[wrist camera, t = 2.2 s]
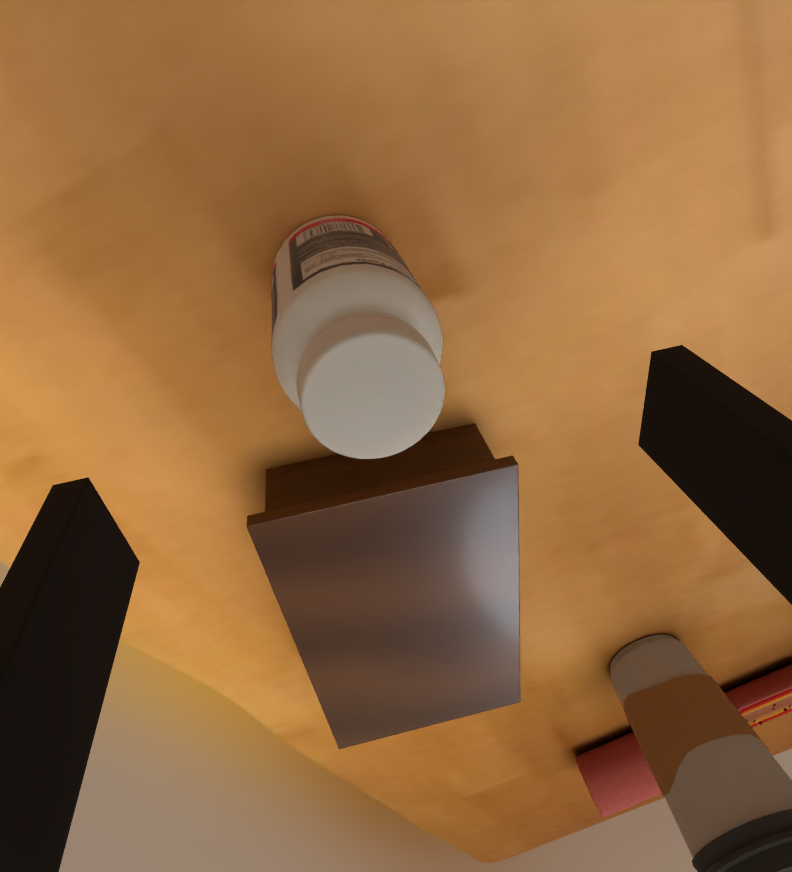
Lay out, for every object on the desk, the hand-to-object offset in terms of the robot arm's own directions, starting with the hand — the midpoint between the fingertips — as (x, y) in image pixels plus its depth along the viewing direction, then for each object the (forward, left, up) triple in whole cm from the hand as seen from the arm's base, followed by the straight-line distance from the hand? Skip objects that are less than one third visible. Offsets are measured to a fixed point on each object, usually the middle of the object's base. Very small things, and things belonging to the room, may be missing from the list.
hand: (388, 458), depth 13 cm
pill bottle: (0, 0, -12) cm, 12 cm away
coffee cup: (+35, +18, -12) cm, 41 cm away
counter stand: (+18, 0, -12) cm, 21 cm away
